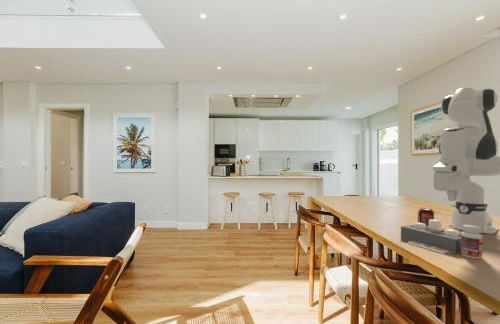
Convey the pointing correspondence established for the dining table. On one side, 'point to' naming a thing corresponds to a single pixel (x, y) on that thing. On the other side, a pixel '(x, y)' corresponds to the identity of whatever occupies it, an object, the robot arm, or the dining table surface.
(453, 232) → the button
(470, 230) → the pill bottle
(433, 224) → the cream white egg
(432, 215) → the soda can
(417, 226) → the cream oval piece
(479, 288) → the dining table surface
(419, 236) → the grey egg tray
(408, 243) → the card
